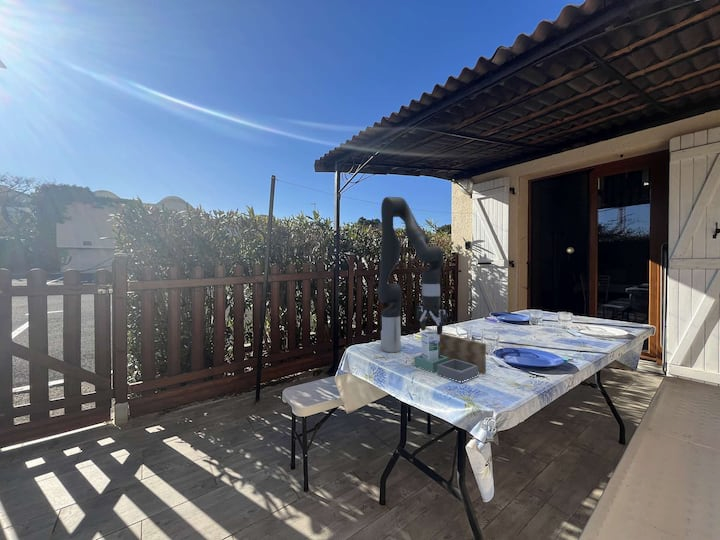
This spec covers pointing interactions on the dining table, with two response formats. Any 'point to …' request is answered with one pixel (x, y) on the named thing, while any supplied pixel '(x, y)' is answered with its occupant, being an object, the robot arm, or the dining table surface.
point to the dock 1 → (429, 362)
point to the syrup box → (430, 345)
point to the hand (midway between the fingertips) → (431, 332)
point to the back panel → (464, 350)
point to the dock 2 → (450, 372)
